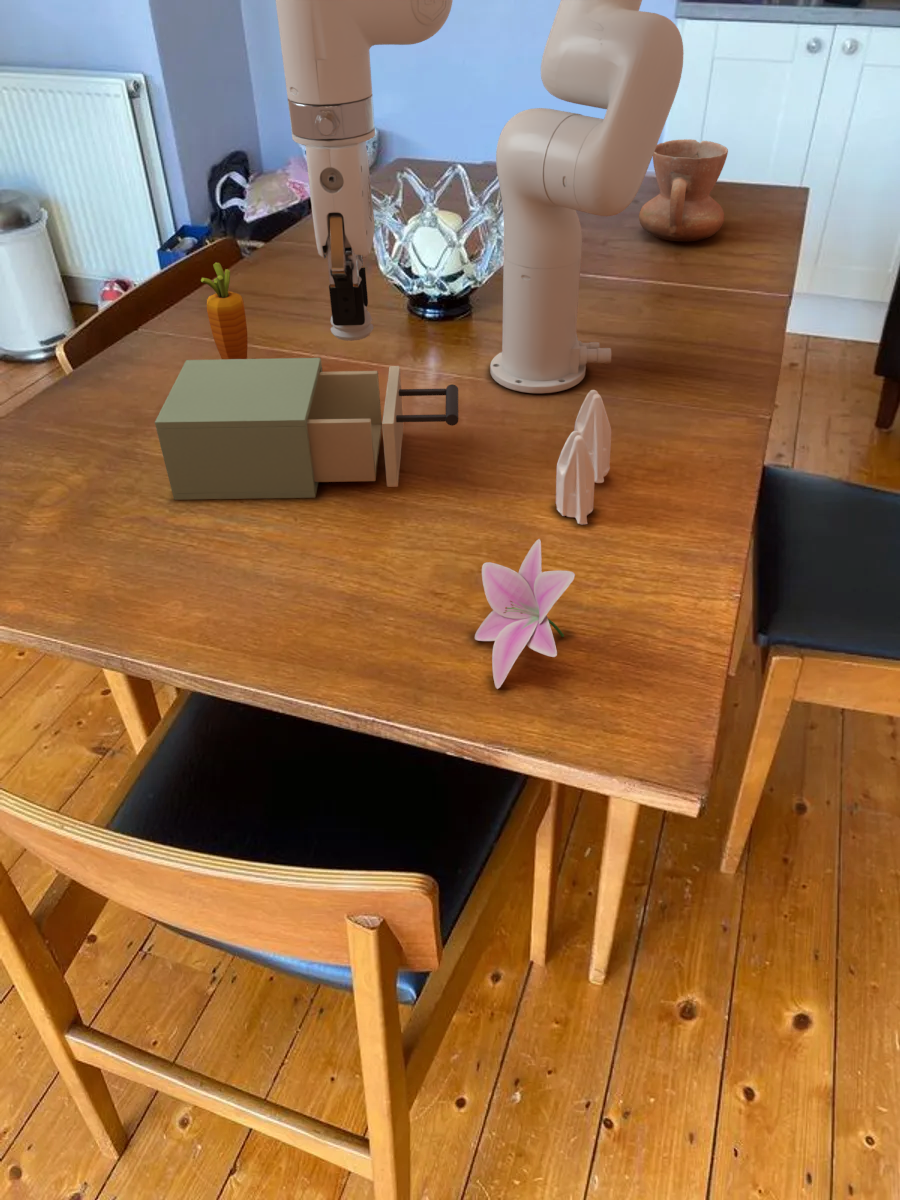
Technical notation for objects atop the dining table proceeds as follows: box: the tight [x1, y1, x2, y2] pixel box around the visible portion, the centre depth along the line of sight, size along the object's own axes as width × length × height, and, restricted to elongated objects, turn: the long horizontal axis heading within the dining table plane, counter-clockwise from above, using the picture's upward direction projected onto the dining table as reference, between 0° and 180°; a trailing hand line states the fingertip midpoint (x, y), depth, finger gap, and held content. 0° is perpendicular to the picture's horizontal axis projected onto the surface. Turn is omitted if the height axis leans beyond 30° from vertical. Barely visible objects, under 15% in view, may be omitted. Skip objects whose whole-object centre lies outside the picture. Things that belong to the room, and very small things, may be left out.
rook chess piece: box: [329, 251, 374, 342], centre depth 94 cm, size 4×4×8 cm
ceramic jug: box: [638, 138, 729, 243], centre depth 159 cm, size 18×14×14 cm
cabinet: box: [154, 357, 323, 501], centre depth 105 cm, size 16×15×10 cm
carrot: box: [200, 262, 249, 359], centre depth 120 cm, size 5×5×15 cm
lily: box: [474, 538, 576, 690], centre depth 81 cm, size 12×12×10 cm
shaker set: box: [555, 389, 612, 526], centre depth 99 cm, size 12×4×11 cm, turn 159°
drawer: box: [307, 365, 459, 488], centre depth 105 cm, size 21×13×8 cm, turn 90°
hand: (350, 313), depth 96 cm, fingers closed on rook chess piece, 3 cm apart
